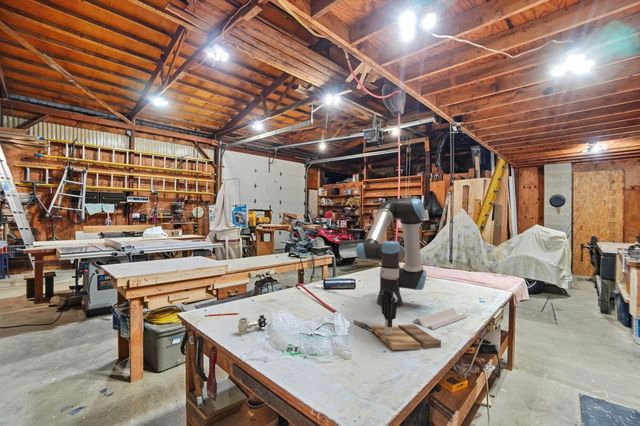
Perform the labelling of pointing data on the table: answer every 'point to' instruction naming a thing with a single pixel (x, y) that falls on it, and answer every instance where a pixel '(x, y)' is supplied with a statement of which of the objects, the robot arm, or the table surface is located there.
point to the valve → (250, 324)
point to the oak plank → (396, 338)
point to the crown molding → (439, 318)
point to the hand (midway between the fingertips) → (387, 333)
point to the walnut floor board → (420, 336)
